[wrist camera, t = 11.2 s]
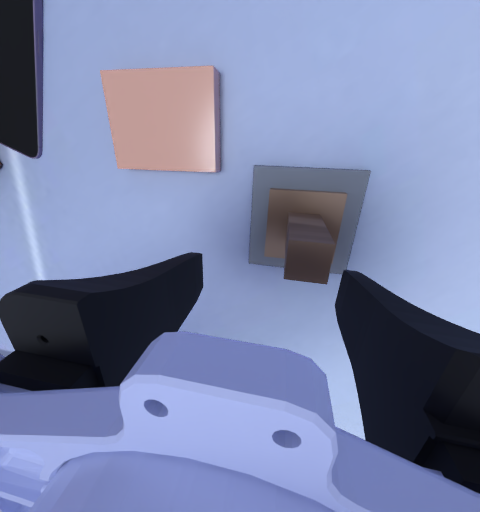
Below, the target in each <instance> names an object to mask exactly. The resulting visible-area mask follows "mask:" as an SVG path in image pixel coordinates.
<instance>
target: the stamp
mask: <svg viewBox="0 0 480 512" xmlns="http://www.w3.org/2000/svg"><path fill="white" fill-rule="evenodd" d="M346 199H347V193H345V192H329V191H312V190H295V189H278V188H270V192H269V204H268V216H267V229H266V241H265V253H264V256H265V257H275V258H284V259H285V263H284V279H288V280H296V281H304V282H312V283H320V284H327V282H328V277H329V273H330V268H331V264H332V263H333V258H334V254H335V249H336V245H337V240H338V235H339V231H340V226H341V222H342V217H343V213H344V208H345V203H346Z"/></svg>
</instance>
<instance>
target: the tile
mask: <svg viewBox="0 0 480 512" xmlns="http://www.w3.org/2000/svg"><path fill="white" fill-rule="evenodd" d="M100 74H101V79H102V84H103V90H104V95H105V101H106V106H107V112H108V117H109V123H110V128H111V134H112V139H113V145H114V150H115V156H116V161H117V166H118V169H143V170H168V171H194V172H219V171H221V168H220V76H219V72H218V70H217V69H216V68H215V67H214V66H193V67H169V68H145V69H121V70H100Z"/></svg>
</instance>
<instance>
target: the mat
mask: <svg viewBox="0 0 480 512" xmlns="http://www.w3.org/2000/svg"><path fill="white" fill-rule="evenodd" d="M370 172H371V171H370V170H349V169H326V168H303V167H280V166H256V165H255V166H254V174H253V193H252V211H251V230H250V249H249V264H258V265H267V266H275V267H284V263H285V259H284V258H275V257H265V256H264V253H265V241H266V229H267V216H268V204H269V192H270V188H278V189H295V190H312V191H329V192H345V193H347V199H346V203H345V208H344V213H343V217H342V222H341V226H340V231H339V235H338V240H337V245H336V249H335V254H334V258H333V263H332V264H331V268H330V273H336V274H343V270H346V268H347V264H348V260H349V256H350V252H351V248H352V244H353V240H354V236H355V232H356V228H357V224H358V220H359V216H360V212H361V208H362V204H363V200H364V196H365V192H366V188H367V184H368V180H369V176H370Z"/></svg>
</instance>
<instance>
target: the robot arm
mask: <svg viewBox="0 0 480 512" xmlns="http://www.w3.org/2000/svg"><path fill="white" fill-rule="evenodd" d="M202 288H203V265H202V254H201V253H192V252H191V253H186V254H183V255H180V256H177V257H174V258H172V259H169V260H166V261H163V262H160V263H157V264H154V265H151V266H148V267H145V268H142V269H138V270H134V271H130V272H125V273H120V274H114V275H108V276H102V277H94V278H84V279H71V280H37V281H32V282H30V283H28V284H26V285H24V286H22V287H20V288H18V289H16V290H14V291H12V292H9V293H7V294H5V295H4V296H3V297H2V298H1V300H0V319H1V322H2V324H3V326H4V328H5V331H6V333H7V335H8V337H9V339H10V341H11V343H12V345H13V347H14V349H15V351H14V352H12V353H11V354H10V355H8V356H7V357H4V356H3V355H1V354H0V512H480V334H479V333H476V332H473V331H471V330H468V329H466V328H463V327H461V326H458V325H456V324H453V323H451V322H448V321H446V320H444V319H441V318H439V317H437V316H435V315H433V314H431V313H429V312H427V311H424V310H422V309H420V308H418V307H416V306H414V305H413V304H411V303H409V302H407V301H405V300H404V299H402V298H400V297H398V296H397V295H395V294H393V293H392V292H390V291H389V290H387V289H385V288H384V287H382V286H381V285H379V284H378V283H376V282H375V281H373V280H371V279H370V278H368V277H367V276H365V275H363V274H362V273H360V272H357V271H349V270H343V274H342V278H341V282H340V286H339V290H338V294H337V298H336V303H335V309H336V316H337V321H338V325H339V328H340V331H341V334H342V337H343V341H344V344H345V347H346V350H347V353H348V356H349V359H350V362H351V365H352V369H353V373H354V378H355V383H356V387H357V392H358V398H359V403H360V409H361V414H362V420H363V426H364V433H365V439H366V441H365V440H363V439H361V438H359V437H357V436H355V435H352V434H350V433H348V432H346V431H344V430H342V429H340V428H337V427H335V424H334V418H333V412H332V406H331V401H330V395H329V389H328V383H327V377H326V374H325V373H324V372H323V371H322V370H321V369H320V368H319V367H318V366H317V365H316V364H315V363H314V361H313V360H312V359H311V358H308V357H305V356H303V355H300V354H298V353H295V352H292V351H290V350H287V349H282V348H277V347H271V346H265V345H259V344H254V343H248V342H242V341H236V340H231V339H225V338H219V337H213V336H208V335H202V334H196V333H190V332H177V331H178V330H179V328H180V327H181V325H182V323H183V322H184V320H185V319H186V317H187V316H188V314H189V313H190V311H191V310H192V308H193V306H194V305H195V303H196V302H197V300H198V297H199V295H200V293H201V291H202Z"/></svg>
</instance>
